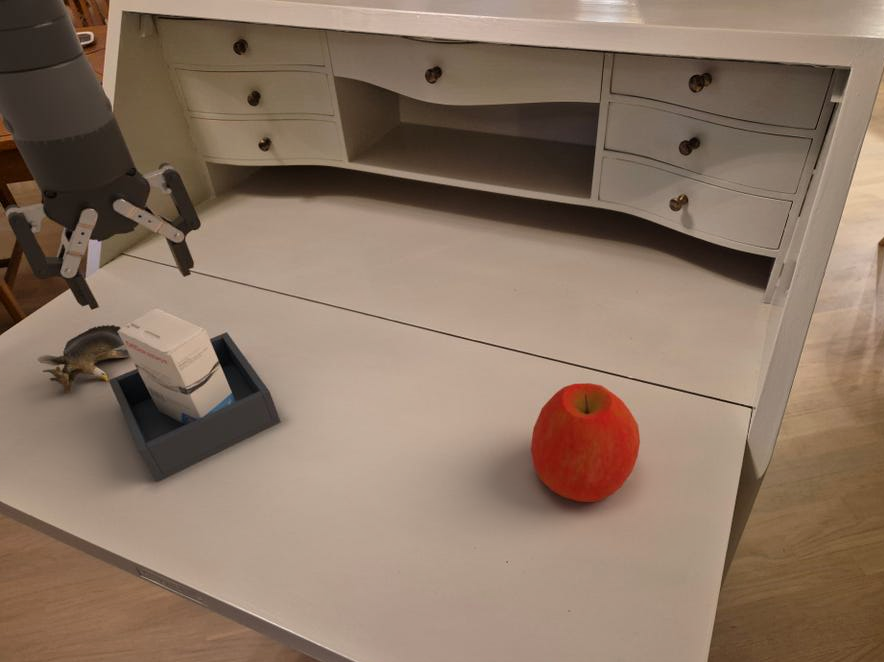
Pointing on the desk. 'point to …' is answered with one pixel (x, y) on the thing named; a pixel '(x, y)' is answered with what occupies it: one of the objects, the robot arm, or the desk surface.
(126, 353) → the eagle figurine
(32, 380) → the desk surface
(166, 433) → the tote
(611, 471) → the apple
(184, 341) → the ink box
